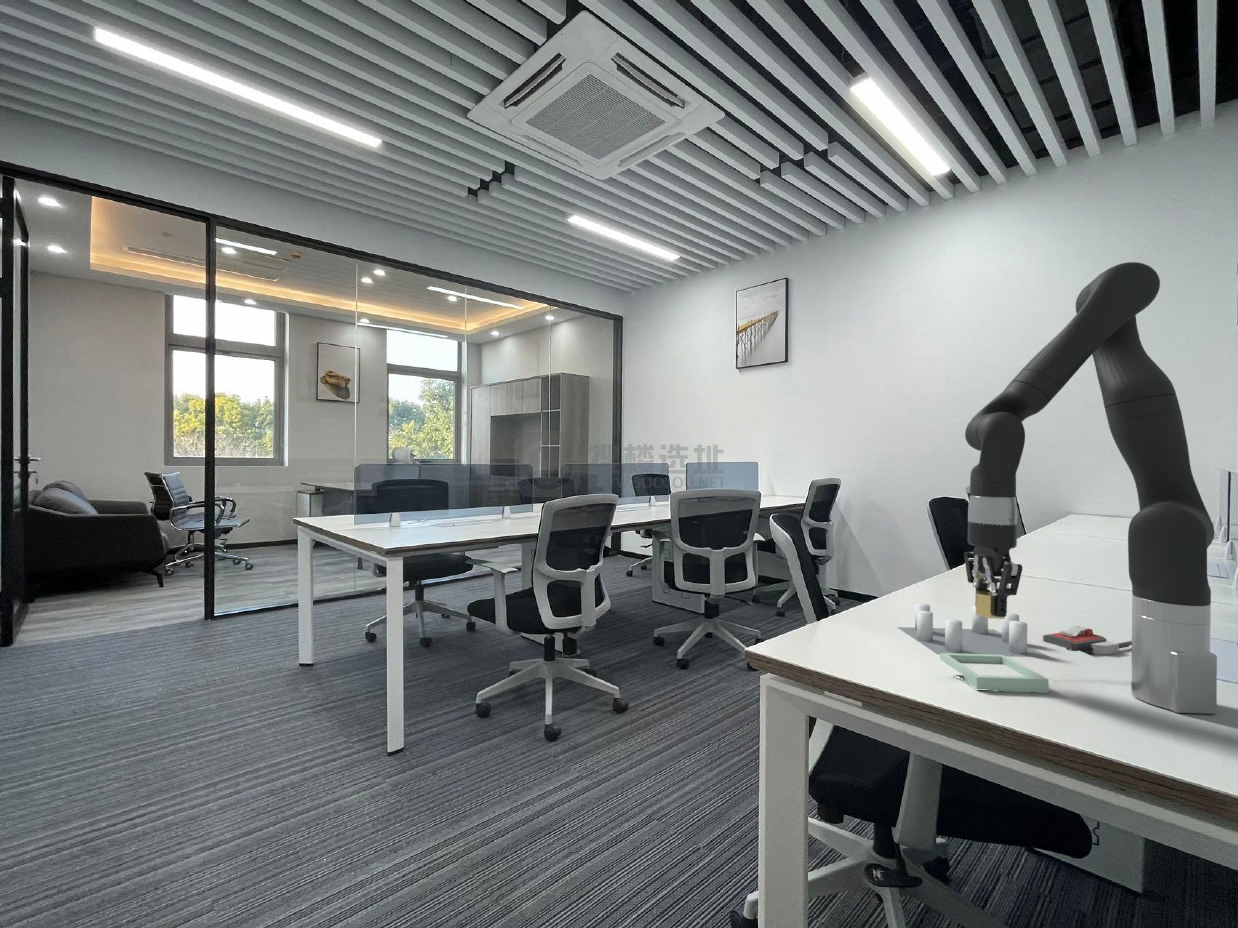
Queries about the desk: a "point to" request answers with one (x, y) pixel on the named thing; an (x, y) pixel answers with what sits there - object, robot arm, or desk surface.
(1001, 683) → the tray
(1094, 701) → the desk surface
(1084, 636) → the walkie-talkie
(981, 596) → the khaki cube
